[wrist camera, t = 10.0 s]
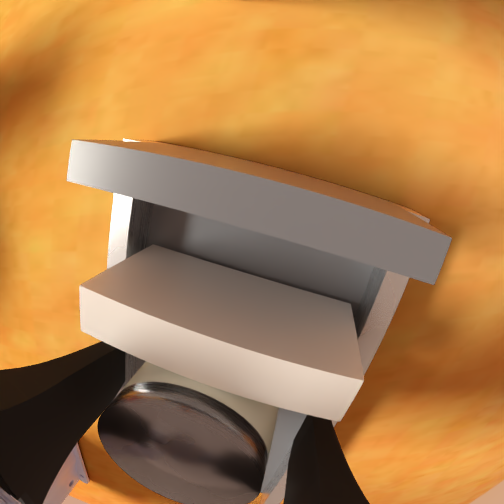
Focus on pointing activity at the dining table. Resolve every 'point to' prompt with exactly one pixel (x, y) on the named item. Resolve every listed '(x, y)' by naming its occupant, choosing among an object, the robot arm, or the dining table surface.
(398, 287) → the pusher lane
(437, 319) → the dining table surface
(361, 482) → the dining table surface
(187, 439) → the cream jar with lid
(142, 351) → the block
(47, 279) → the dining table surface
